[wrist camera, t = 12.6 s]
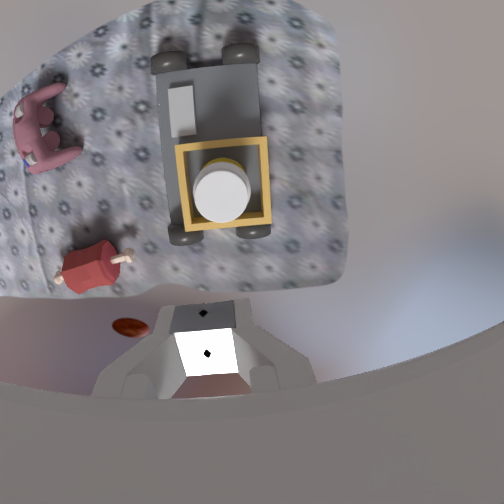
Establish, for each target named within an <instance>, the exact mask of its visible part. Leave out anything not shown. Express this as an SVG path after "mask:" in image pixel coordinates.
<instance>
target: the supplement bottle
mask: <svg viewBox="0 0 504 504" xmlns="http://www.w3.org/2000/svg"><path fill="white" fill-rule="evenodd" d="M250 195H251V186H250V182H249V179H248V176H247V175H246V172H245V170H244V168H243V167H242V166H241V164H240V163H239V162H237V161H236V160H234V159H232V158H228V157H218V158H215V159H212V160H210V161H209V162H208V163H206V164H205V166H204V167H203V168H202V170H201V171H200V172H199V173H198V175H197V177H196V179H195V181H194V185H193V196H194V200H195V205H196V207H197V209H198V211H199V212H200V214H201V215H202V216H204V217H205V218H206V219H208V220H210V221H213V222H217V223H225V222H230V221H232V220H234V219H236V218H237V217H239V216H240V215H241V214H242V213H243V211H244V210H245V208H246V206H247V204H248V202H249V199H250Z"/></svg>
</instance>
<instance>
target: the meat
mask: <svg viewBox="0 0 504 504" xmlns="http://www.w3.org/2000/svg"><path fill="white" fill-rule="evenodd" d="M134 256H135V254H134V250H133V249H132V248H126V250H125V251H124V253H122V254H117V251H116V249H115V247H114V246H113V245H112V244H111V243H110V242H109V241H108V240H106V239H103V240H102V241H100V242H98V243H97V244H95V245H93V246H90V247H88V248H85V249H81V250H73V251H71V252H70V253H68V254H67V255H66V256H65V257H64V262H63V267H62V272H60V271H57V272H56V275H55V276H54V280H55V283H57V284H61V283H62V282H63V280H64V281H65V283H66V285H67V287H68V288H70V289H71V290H73V291H74V292H76V293H78V294H81V293H82V292H84V291H86V290H88V289H90V288H94V287H97V286H103V285H113V284H114V282H115V281H116V279H117V278H118V276H119V273H120V262H122V261H125V260H126V261H127V262H128V263H130V262H132V261H133V260H134V259H133V257H134Z"/></svg>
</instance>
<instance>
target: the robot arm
mask: <svg viewBox="0 0 504 504" xmlns="http://www.w3.org/2000/svg"><path fill="white" fill-rule="evenodd" d="M229 372H238V374H239V375H240V376H241V377H242V378H243V379H244V380H245V381H246V382H247V383H248V384H249V385H250V386H251V392H252V394H243V395H233V396H221V397H207V398H188V399H170V398H171V397H172V396H173V394H174V393H175V392H176V391H177V389H178V388H179V387H180V386H181V384H182V383H183V382H184V380H185V379H186V378H187V376H189V375H202V374H213V373H229ZM0 504H504V321H503V322H501V323H499V324H497V325H495V326H493V327H491V328H489V329H487V330H484V331H482V332H480V333H478V334H476V335H473V336H471V337H469V338H466V339H464V340H461V341H459V342H456V343H454V344H451V345H449V346H447V347H444V348H441V349H438V350H436V351H433V352H430V353H427V354H425V355H421V356H419V357H416V358H413V359H410V360H407V361H403V362H400V363H397V364H393V365H390V366H387V367H383V368H380V369H376V370H373V371H369V372H365V373H361V374H357V375H353V376H349V377H345V378H340V379H336V380H331V381H327V382H322V383H317V381H316V378H315V375H314V373H313V370H312V367H311V364H310V362H309V359H308V358H307V357H306V356H304V355H302V354H301V353H299V352H298V351H296V350H295V349H293V348H292V347H290V346H289V345H287V344H286V343H284V342H282V341H281V340H279V339H278V338H276V337H275V336H273V335H272V334H270V333H269V332H267V331H266V330H264V329H263V328H261V327H260V326H254V323H253V317H252V311H251V305H250V299H249V298H244V299H238V300H230V301H223V302H215V303H207V304H205V303H203V304H189V305H177V306H176V305H173V306H163V307H162V308H161V309H160V312H159V315H158V318H157V322H156V325H155V329H154V332H153V335H148V336H147V337H145V338H144V339H143V340H141V341H140V342H139V343H138V344H136V345H135V346H134V347H132V348H131V349H130V350H128V351H127V352H126V353H125V354H123V355H122V356H121V357H119V358H118V359H117V360H115V361H114V362H113V363H111V364H110V365H109V366H108V367H106V368H105V369H104V370H102V371H101V372H100V374H99V377H98V379H97V382H96V384H95V387H94V390H93V392H92V395H91V396H85V395H76V394H68V393H60V392H53V391H47V390H40V389H35V388H29V387H24V386H19V385H14V384H10V383H5V382H1V381H0Z"/></svg>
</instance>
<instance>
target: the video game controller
mask: <svg viewBox="0 0 504 504" xmlns="http://www.w3.org/2000/svg"><path fill="white" fill-rule="evenodd" d="M65 87H66V84H65V83H54V84H51V85H48V86H46V87H43V88H41V89H39V90H36V91H34V92H32V93H30V94H28V95H27V96H25V97H23V98H22V99H21V100H20V101H19V102H18V104H17V105H16V107H15V109H14V118H13V134H14V140H15V143H16V147H17V149H18V152H19V154H20V156H21V158H22V159H23V161H24V164H25V167H26V168H27V170H28V171H29V172H31V173H33V174H40V173H42V172H44V171H48V170H51V169H54V168H57V167H59V166H61V165H63V164H65V163H67V162H68V161H70V160H72V159H74V158H76V157H77V156H78V155H80V153H81V152H82V147H79V146H74V147H69V148H66V149H63V150H60V151H54V150H55V149H56V148H57V147H58V146H59V144H60V137H59V135H58V134H57V133H56V132H54V131H50V132H48V133H47V134H45V135H44V136H43V137H42V134H41V130H40V128H44V127H47V126H48V125H49V124H50V123H51V122H52V121H53V119H54V113H53V111H52V110H51V109H49V108H46V107H43V106H42V104H43V103H44V102H46V101H47V100H49V99H50V98H52V97H54V96H56V95H57V94H59V93H60V92H62V91H63V90H64V89H65Z"/></svg>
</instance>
